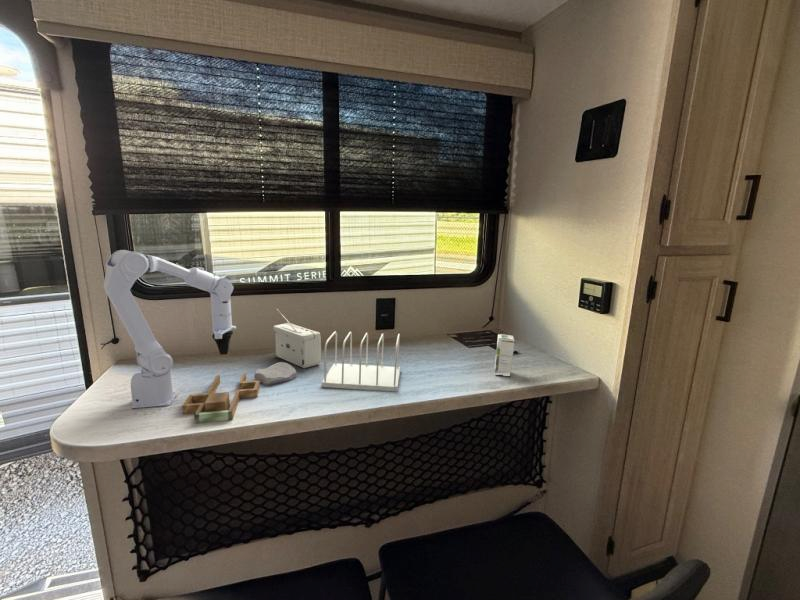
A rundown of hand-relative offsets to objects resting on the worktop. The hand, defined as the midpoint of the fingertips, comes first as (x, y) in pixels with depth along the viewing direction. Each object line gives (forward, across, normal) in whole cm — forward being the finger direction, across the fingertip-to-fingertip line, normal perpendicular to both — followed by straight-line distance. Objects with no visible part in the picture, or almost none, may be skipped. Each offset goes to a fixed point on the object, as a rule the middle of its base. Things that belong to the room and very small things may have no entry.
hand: (224, 353), depth 121 cm
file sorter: (+10, -8, -46) cm, 47 cm away
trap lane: (+9, -14, -2) cm, 17 cm away
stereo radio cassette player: (+10, +15, -23) cm, 29 cm away
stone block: (+10, -1, -16) cm, 19 cm away
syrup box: (+10, -13, -97) cm, 98 cm away
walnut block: (+10, -23, -2) cm, 25 cm away
